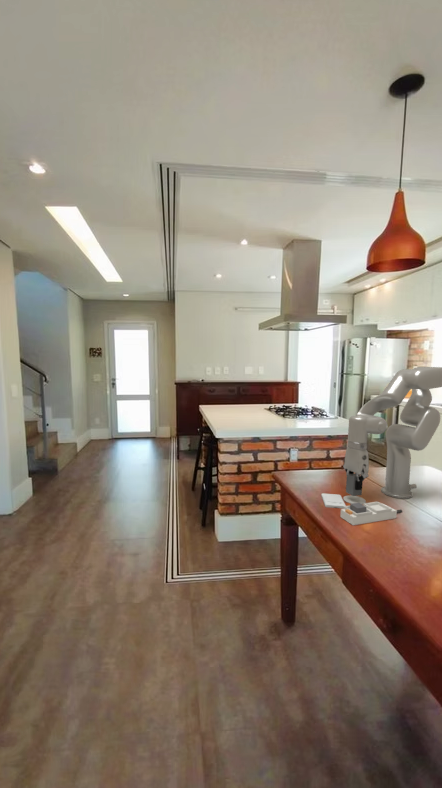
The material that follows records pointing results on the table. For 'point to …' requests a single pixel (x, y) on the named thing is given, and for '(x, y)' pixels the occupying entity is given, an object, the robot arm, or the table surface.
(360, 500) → the coaster
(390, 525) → the table surface
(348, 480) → the charger
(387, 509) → the power strip
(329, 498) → the external hard drive
